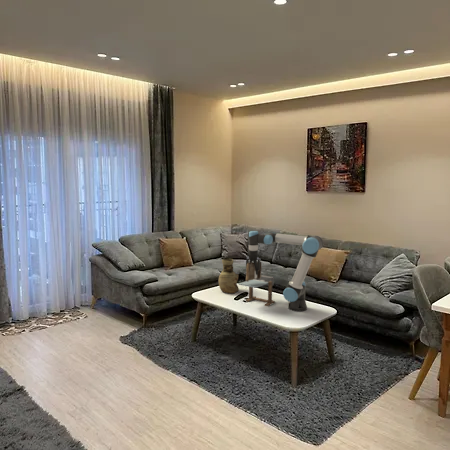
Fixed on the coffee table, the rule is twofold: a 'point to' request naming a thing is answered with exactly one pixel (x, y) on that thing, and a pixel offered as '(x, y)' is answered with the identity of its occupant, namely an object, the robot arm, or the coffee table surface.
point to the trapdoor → (258, 282)
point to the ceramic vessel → (228, 277)
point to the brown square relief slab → (252, 271)
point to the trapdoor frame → (260, 298)
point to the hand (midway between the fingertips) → (252, 277)
